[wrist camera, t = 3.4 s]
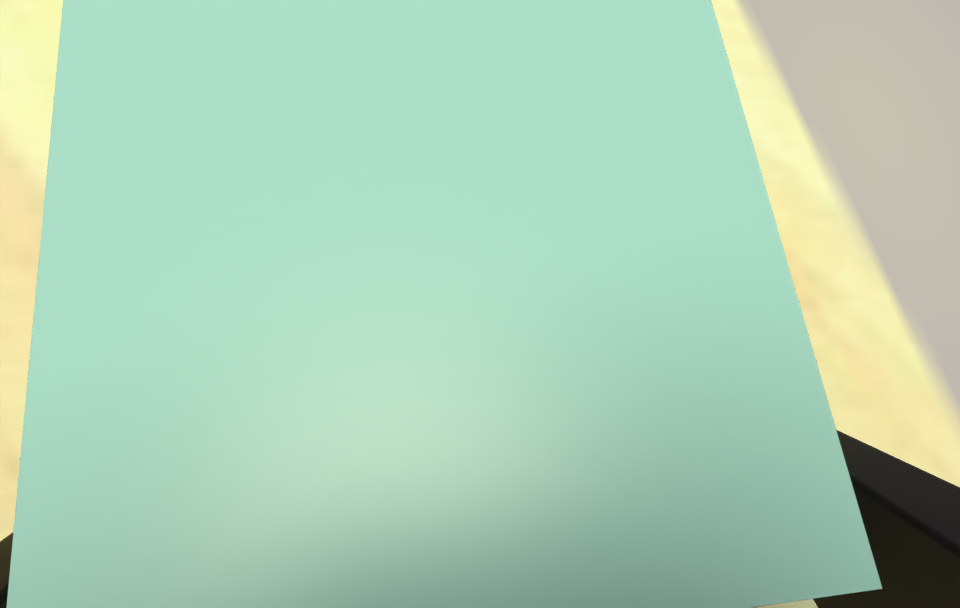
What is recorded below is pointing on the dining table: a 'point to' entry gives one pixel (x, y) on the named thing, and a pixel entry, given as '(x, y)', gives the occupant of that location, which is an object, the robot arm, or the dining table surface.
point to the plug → (417, 318)
